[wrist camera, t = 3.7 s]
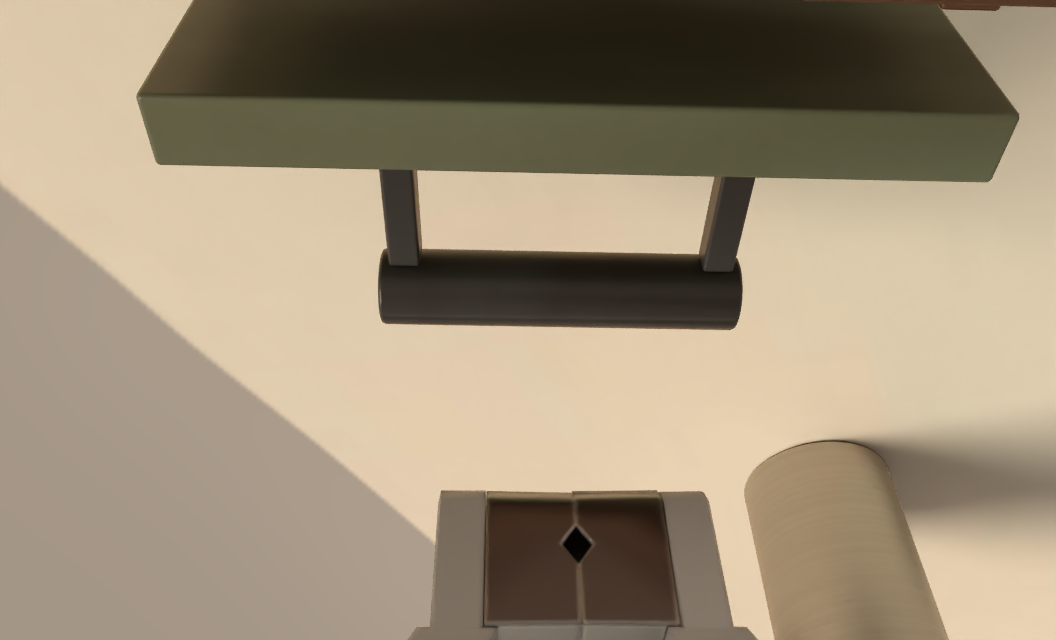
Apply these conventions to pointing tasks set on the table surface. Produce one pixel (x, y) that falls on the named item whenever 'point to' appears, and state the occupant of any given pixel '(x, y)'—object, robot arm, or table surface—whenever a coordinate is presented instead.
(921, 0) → the cabinet
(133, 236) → the table surface
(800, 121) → the drawer
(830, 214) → the table surface
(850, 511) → the cylinder
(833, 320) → the table surface
